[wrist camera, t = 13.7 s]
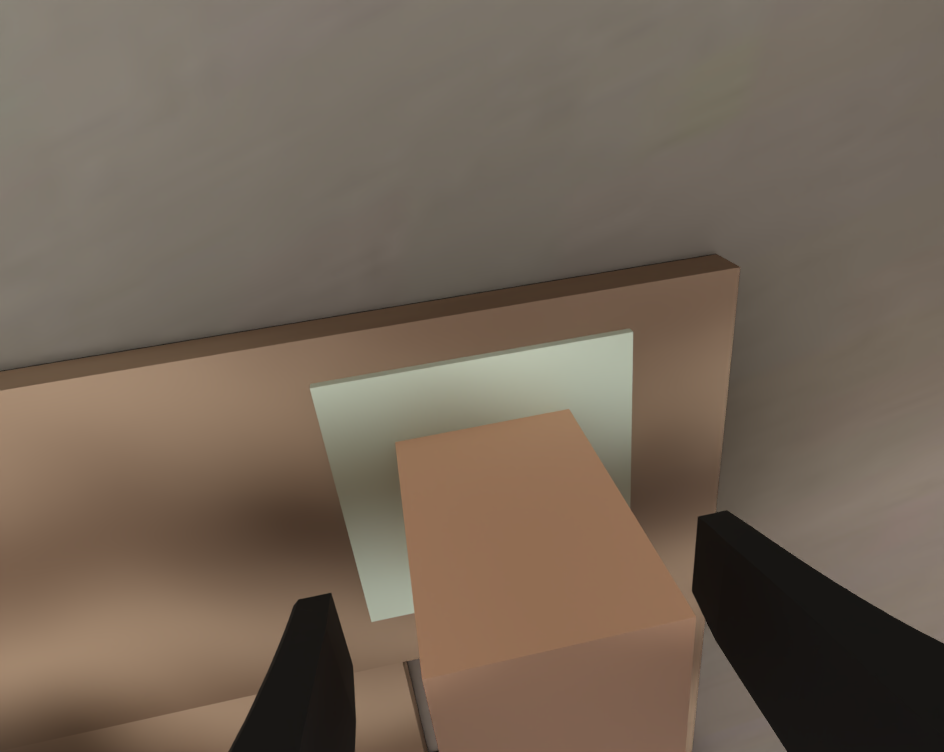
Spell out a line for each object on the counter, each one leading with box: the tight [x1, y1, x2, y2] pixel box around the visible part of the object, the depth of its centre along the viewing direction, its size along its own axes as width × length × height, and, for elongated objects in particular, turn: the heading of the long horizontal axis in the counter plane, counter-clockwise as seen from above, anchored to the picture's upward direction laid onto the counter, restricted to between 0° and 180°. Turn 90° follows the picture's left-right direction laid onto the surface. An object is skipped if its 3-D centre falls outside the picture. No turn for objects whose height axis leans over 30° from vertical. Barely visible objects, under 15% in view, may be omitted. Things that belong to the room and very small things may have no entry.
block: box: [395, 409, 696, 752], centre depth 12 cm, size 4×4×6 cm
